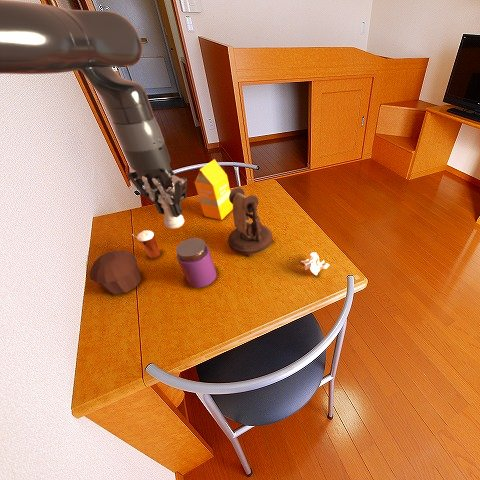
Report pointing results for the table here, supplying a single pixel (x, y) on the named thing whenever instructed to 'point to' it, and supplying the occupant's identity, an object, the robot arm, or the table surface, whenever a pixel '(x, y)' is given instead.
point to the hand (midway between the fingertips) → (171, 213)
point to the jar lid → (191, 249)
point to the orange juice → (213, 191)
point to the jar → (199, 270)
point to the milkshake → (148, 243)
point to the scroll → (247, 225)
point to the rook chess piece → (170, 214)
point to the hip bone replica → (314, 264)
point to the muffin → (116, 272)
